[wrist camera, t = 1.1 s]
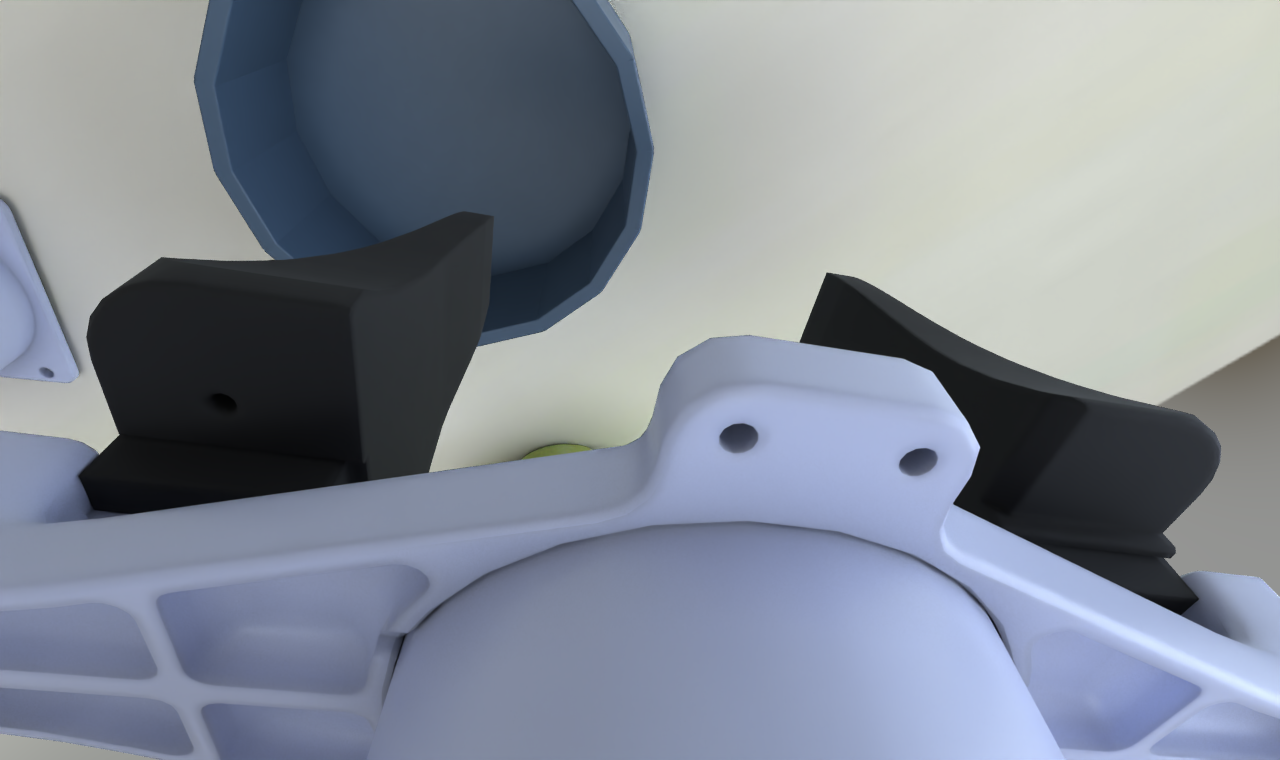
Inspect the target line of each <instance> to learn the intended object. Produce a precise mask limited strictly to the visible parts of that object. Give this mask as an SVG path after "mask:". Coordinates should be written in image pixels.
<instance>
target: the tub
mask: <svg viewBox="0 0 1280 760" xmlns="http://www.w3.org/2000/svg"><path fill="white" fill-rule="evenodd" d="M194 84H195V89H196V93H197V97H198V102H199V106H200V111H201V115H202V120H203V124H204V128H205V133H206V137H207V142H208V146H209V151H210V155H211V160H212V164H213V168H214V172H215V173H216V175H217V177H218V178H219V180H220V182H221V183H222V185H223V186H224V188H225V190H226V191H227V193H228V194H229V196H230V197H231V199H232V201H233V202H234V204H235V205H236V207H237V209H238V210H239V212H240V213H241V215H242V216H243V218H244V220H245V221H246V223H247V224H248V226H249V228H250V229H251V231H252V232H253V234H254V236H255V237H256V239H257V240H258V242H259V243H260V245H261V247H262V248H263V249H265V252H266V253H268V254H269V255H270V256H271V257H272V258H273V259H275V260H285V259H297V258H304V257H312V256H320V255H328V254H335V253H340V252H345V251H350V250H354V249H359V248H363V247H367V246H371V245H374V244H377V243H381V242H384V241H387V240H389V239H392V238H395V237H398V236H401V235H403V234H406V233H409V232H412V231H414V230H417V229H419V228H422V227H424V226H426V225H429V224H431V223H433V222H436V221H438V220H440V219H443V218H445V217H447V216H450V215H452V214H455V213H458V212H462V211H467V212H473V213H478V214H484V215H490V216H494V228H493V246H492V264H491V282H490V299H489V307H488V311H487V315H486V319H485V322H484V326H483V330H482V333H481V337H480V340H479V342H478V345H477V347H478V346H482V345H487V344H491V343H495V342H500V341H504V340H509V339H513V338H517V337H522V336H526V335H530V334H535V333H539V332H543V331H545V330H547V329H548V328H550V327H551V326H553V325H554V324H556V323H557V322H559V321H560V320H562V319H563V318H565V317H566V316H567V315H569V314H570V313H572V312H573V311H575V310H576V309H578V308H579V307H581V306H582V305H584V304H585V303H586V302H588V301H589V300H591V299H592V298H594V297H595V296H597V295H598V294H600V293H601V292H602V291H603V289H604V288H605V286H606V284H607V283H608V281H609V280H610V278H611V277H612V275H613V273H614V272H615V270H616V269H617V267H618V266H619V264H620V263H621V261H622V259H623V258H624V256H625V255H626V253H627V252H628V250H629V248H630V247H631V245H632V244H633V242H634V241H635V239H636V237H637V236H638V234H639V233H640V230H641V227H642V221H643V215H644V209H645V203H646V197H647V191H648V185H649V179H650V173H651V167H652V161H653V155H654V146H653V141H652V136H651V131H650V126H649V121H648V117H647V112H646V107H645V102H644V98H643V93H642V89H641V84H640V79H639V75H638V70H637V66H636V61H635V57H634V52H633V47H632V43H631V38H630V35H629V32H628V31H627V29H626V28H625V26H624V25H623V23H622V22H621V20H620V18H619V17H618V15H617V14H616V12H615V11H614V9H613V8H612V6H611V5H610V3H609V1H608V0H209V5H208V10H207V15H206V20H205V25H204V30H203V35H202V40H201V45H200V50H199V55H198V60H197V65H196V70H195V75H194Z"/></svg>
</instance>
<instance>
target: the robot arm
mask: <svg viewBox="0 0 1280 760" xmlns="http://www.w3.org/2000/svg"><path fill="white" fill-rule="evenodd" d="M493 228H494V216H490V215H484V214H478V213H473V212H467V211H462V212H458V213H455V214H452V215H450V216H447V217H445V218H443V219H440V220H438V221H436V222H433V223H431V224H429V225H426V226H424V227H422V228H419V229H417V230H414V231H412V232H409V233H406V234H403V235H401V236H398V237H395V238H392V239H389V240H387V241H384V242H381V243H377V244H374V245H371V246H367V247H363V248H359V249H354V250H350V251H345V252H340V253H335V254H328V255H320V256H312V257H304V258H297V259H285V260H268V261H217V260H197V259H177V258H165V257H161V258H160V259H158V260H157V261H156V262H154V263H153V264H151V265H150V266H149V267H147V268H146V269H144V270H143V271H141V272H140V273H139V274H137V275H136V276H134V277H133V278H131V279H130V280H129V281H127V282H126V283H124V284H123V285H122V286H120V287H119V288H117V289H116V290H114V291H113V292H112V293H110V294H109V295H107V296H106V297H105V298H103V299H102V300H101V302H100V303H99V304H98V306H97V307H96V309H95V310H94V311H93V313H92V314H91V316H90V319H89V325H88V331H87V336H86V338H87V343H88V348H89V352H90V357H91V361H92V364H93V366H94V369H95V372H96V374H97V377H98V379H99V382H100V385H101V387H102V390H103V393H104V395H105V398H106V401H107V403H108V406H109V409H110V411H111V414H112V417H113V419H114V422H115V424H116V427H117V430H118V432H119V434H120V435H119V436H118V437H117V438H116V439H115V440H114V441H113V442H112V443H111V444H110V445H109V446H108V447H107V448H106V449H105V450H104V451H103V452H102V453H101V454H100V455H99V454H98V452H97V451H96V450H94V449H93V448H91V447H90V446H88V445H86V444H85V443H83V442H79V441H76V440H72V439H68V438H59V437H51V436H42V435H34V434H25V433H16V432H8V431H0V734H7V735H15V736H22V737H30V738H38V739H45V740H53V741H60V742H66V743H73V744H78V745H84V746H90V747H95V748H101V749H107V750H112V751H117V752H123V753H129V754H134V755H139V756H144V757H149V758H154V759H159V760H1280V597H1279V596H1278V595H1277V594H1276V593H1275V592H1274V591H1273V590H1272V589H1271V588H1270V587H1269V586H1268V585H1267V584H1266V583H1265V582H1264V581H1263V580H1262V579H1261V578H1259V577H1251V576H1243V575H1235V574H1226V573H1217V572H1209V571H1194V572H1190V573H1187V574H1185V575H1181V576H1179V575H1178V574H1177V573H1176V572H1175V570H1174V569H1173V568H1172V567H1171V566H1170V565H1169V564H1168V562H1167V561H1166V560H1165V559H1164V558H1171V557H1172V556H1173V555H1174V554H1175V553H1176V550H1175V547H1174V545H1173V544H1172V543H1171V542H1170V541H1169V540H1168V539H1167V538H1166V536H1165V535H1164V534H1163V532H1164V531H1165V530H1166V529H1167V528H1168V527H1169V526H1170V525H1171V524H1172V523H1173V522H1174V521H1175V520H1176V519H1177V518H1178V517H1179V516H1180V515H1181V514H1182V513H1183V512H1184V511H1185V510H1186V509H1187V507H1189V505H1191V503H1192V502H1194V500H1196V498H1197V497H1198V496H1199V495H1200V494H1201V493H1202V492H1203V491H1204V489H1205V488H1206V487H1207V486H1208V484H1209V483H1210V482H1211V481H1212V479H1213V477H1214V474H1215V472H1216V470H1217V468H1218V465H1219V463H1220V455H1221V445H1220V443H1219V441H1218V439H1217V436H1216V435H1215V433H1214V432H1213V431H1212V430H1211V429H1210V428H1208V427H1207V426H1206V425H1205V424H1204V423H1203V422H1201V421H1200V420H1199V419H1198V418H1197V417H1196V416H1195V415H1192V414H1188V413H1185V412H1181V411H1177V410H1172V409H1168V408H1164V407H1159V406H1155V405H1151V404H1146V403H1142V402H1138V401H1133V400H1129V399H1125V398H1120V397H1117V396H1113V395H1109V394H1106V393H1102V392H1099V391H1096V390H1092V389H1089V388H1085V387H1082V386H1078V385H1075V384H1072V383H1069V382H1066V381H1063V380H1060V379H1057V378H1054V377H1051V376H1049V375H1046V374H1043V373H1041V372H1038V371H1035V370H1033V369H1030V368H1027V367H1024V366H1022V365H1019V364H1017V363H1015V362H1012V361H1010V360H1007V359H1005V358H1003V357H1001V356H998V355H996V354H994V353H992V352H990V351H988V350H985V349H983V348H981V347H979V346H977V345H975V344H973V343H971V342H969V341H967V340H965V339H963V338H961V337H959V336H958V335H956V334H954V333H952V332H950V331H949V330H947V329H945V328H943V327H941V326H940V325H938V324H936V323H934V322H933V321H931V320H929V319H928V318H926V317H924V316H923V315H921V314H919V313H918V312H916V311H914V310H913V309H911V308H910V307H908V306H906V305H905V304H903V303H901V302H900V301H898V300H897V299H895V298H893V297H892V296H890V295H888V294H887V293H885V292H883V291H882V290H880V289H878V288H876V287H875V286H873V285H871V284H869V283H867V282H865V281H863V280H861V279H858V278H855V277H851V276H845V275H839V274H833V273H826V276H825V278H824V281H823V284H822V286H821V289H820V291H819V294H818V296H817V299H816V301H815V304H814V307H813V309H812V312H811V314H810V317H809V319H808V322H807V324H806V327H805V329H804V332H803V335H802V337H801V340H800V342H799V343H798V342H791V341H785V340H778V339H772V338H765V337H759V336H752V335H744V336H730V337H717V338H710V339H708V340H706V341H704V342H703V343H701V344H699V345H697V346H696V347H694V348H692V349H690V350H689V351H687V352H685V353H683V354H682V355H680V356H678V357H677V358H676V360H675V362H674V363H673V365H672V367H671V368H670V370H669V372H668V373H667V375H666V376H665V378H664V380H663V381H662V383H661V385H660V388H659V392H658V396H657V400H656V404H655V408H654V412H653V416H652V418H651V421H650V423H649V425H648V428H647V430H646V431H645V432H644V433H643V435H642V436H641V437H640V438H639V439H637V440H635V441H633V442H631V443H629V444H627V445H624V446H617V447H610V448H603V449H595V450H588V451H581V452H574V453H567V454H560V455H552V456H545V457H538V458H531V459H524V460H517V461H509V462H502V463H495V464H488V465H481V466H473V467H466V468H459V469H452V470H445V471H438V472H430V473H429V469H430V466H431V462H432V459H433V456H434V452H435V449H436V446H437V442H438V439H439V435H440V432H441V429H442V426H443V423H444V420H445V418H446V415H447V412H448V410H449V408H450V405H451V403H452V401H453V399H454V396H455V394H456V392H457V390H458V388H459V385H460V383H461V381H462V379H463V376H464V374H465V372H466V370H467V367H468V365H469V363H470V361H471V358H472V356H473V354H474V352H475V349H476V347H477V345H478V342H479V340H480V337H481V333H482V330H483V326H484V322H485V319H486V315H487V311H488V307H489V299H490V282H491V264H492V246H493ZM49 369H50V370H51V371H50V370H49ZM78 376H79V370H78V368H77V365H76V363H75V361H74V358H73V356H72V354H71V351H70V349H69V346H68V344H67V342H66V339H65V337H64V335H63V332H62V330H61V328H60V325H59V323H58V320H57V318H56V316H55V313H54V311H53V309H52V306H51V304H50V302H49V299H48V297H47V295H46V292H45V290H44V287H43V285H42V283H41V280H40V278H39V276H38V273H37V271H36V269H35V266H34V264H33V261H32V259H31V257H30V254H29V252H28V250H27V247H26V245H25V243H24V240H23V238H22V236H21V233H20V231H19V228H18V226H17V224H16V221H15V219H14V217H13V214H12V212H11V210H10V208H9V207H8V205H7V204H6V203H5V202H4V201H2V200H1V199H0V377H9V378H19V379H29V380H39V381H50V382H60V383H70V382H72V381H74V380H75V379H76V378H77V377H78Z"/></svg>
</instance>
